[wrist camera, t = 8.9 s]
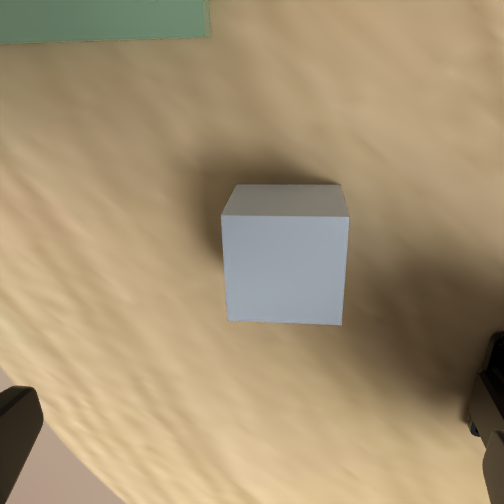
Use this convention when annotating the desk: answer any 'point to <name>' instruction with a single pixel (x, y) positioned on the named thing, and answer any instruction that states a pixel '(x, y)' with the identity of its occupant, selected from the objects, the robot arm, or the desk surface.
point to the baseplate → (101, 20)
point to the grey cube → (285, 253)
